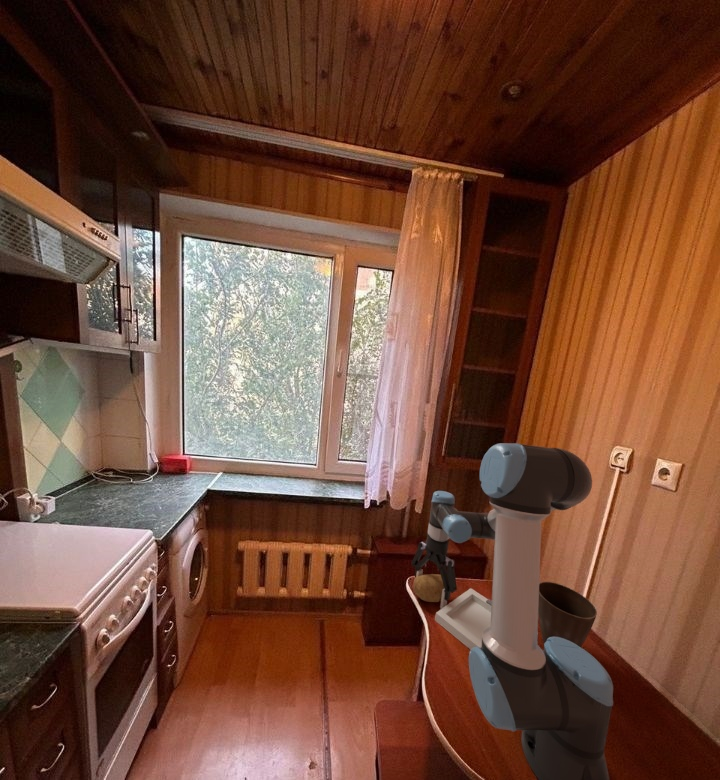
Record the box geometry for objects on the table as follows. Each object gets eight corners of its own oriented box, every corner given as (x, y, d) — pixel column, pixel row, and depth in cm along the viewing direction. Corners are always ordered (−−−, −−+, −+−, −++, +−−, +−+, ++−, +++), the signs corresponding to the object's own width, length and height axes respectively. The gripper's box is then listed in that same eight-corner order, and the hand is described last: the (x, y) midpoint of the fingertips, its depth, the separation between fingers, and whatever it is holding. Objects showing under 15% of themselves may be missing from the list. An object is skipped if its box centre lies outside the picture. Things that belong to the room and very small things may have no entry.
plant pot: (570, 634, 98) (578, 587, 98) (600, 679, 84) (609, 623, 83) (522, 624, 100) (529, 577, 100) (543, 665, 85) (551, 611, 85)
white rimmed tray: (489, 664, 84) (490, 653, 84) (434, 620, 97) (436, 611, 97) (520, 628, 98) (522, 619, 98) (469, 594, 112) (470, 586, 112)
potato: (455, 605, 105) (458, 583, 105) (420, 612, 100) (423, 588, 100) (438, 586, 114) (441, 566, 114) (406, 591, 109) (408, 570, 109)
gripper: (473, 549, 100) (464, 614, 101) (419, 519, 117) (411, 575, 118) (461, 556, 95) (452, 624, 96) (406, 524, 112) (398, 581, 113)
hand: (429, 597), depth 107 cm, fingers closed on potato, 10 cm apart
